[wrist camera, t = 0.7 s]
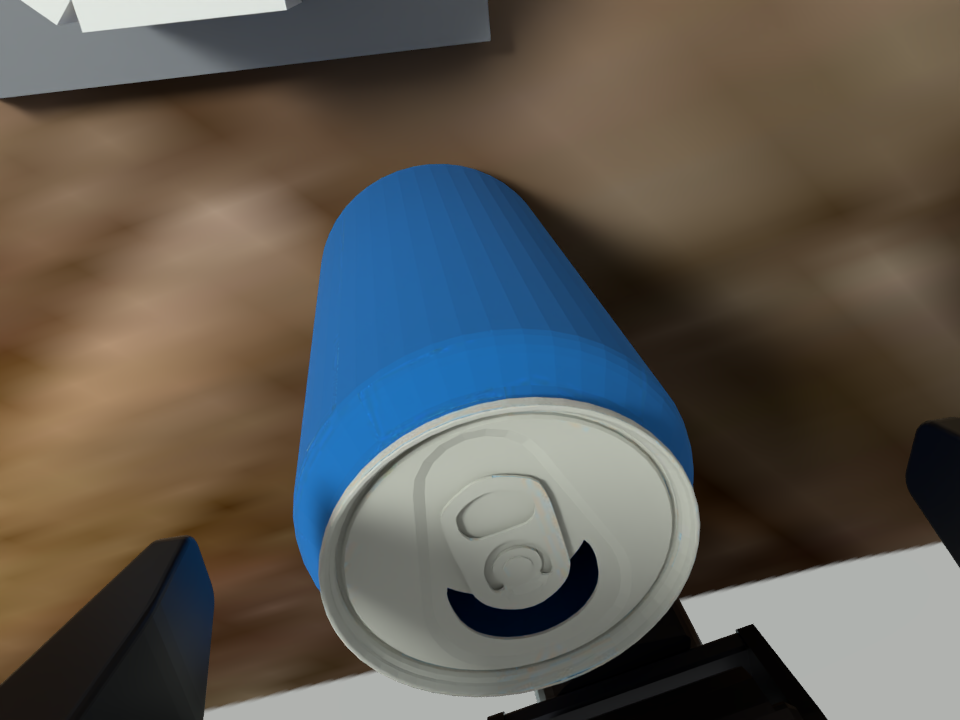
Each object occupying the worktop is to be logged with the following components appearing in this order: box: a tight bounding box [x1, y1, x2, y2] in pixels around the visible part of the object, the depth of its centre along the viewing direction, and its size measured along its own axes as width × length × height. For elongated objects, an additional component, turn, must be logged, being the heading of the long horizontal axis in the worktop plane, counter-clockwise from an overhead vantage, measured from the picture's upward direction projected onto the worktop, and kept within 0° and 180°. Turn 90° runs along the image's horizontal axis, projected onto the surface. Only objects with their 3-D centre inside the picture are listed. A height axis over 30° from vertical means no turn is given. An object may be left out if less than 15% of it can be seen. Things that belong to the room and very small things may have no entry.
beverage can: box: [293, 164, 700, 697], centre depth 15 cm, size 6×6×12 cm
